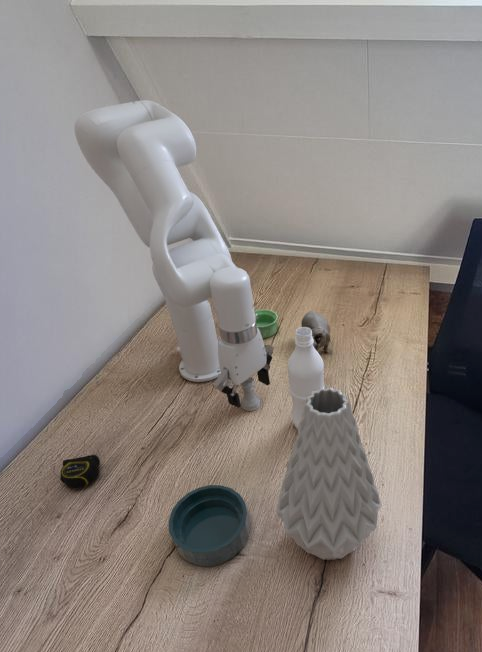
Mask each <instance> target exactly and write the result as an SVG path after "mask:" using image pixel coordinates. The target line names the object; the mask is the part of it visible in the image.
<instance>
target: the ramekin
mask: <svg viewBox="0 0 482 652" xmlns="http://www.w3.org/2000/svg"><path fill="white" fill-rule="evenodd" d="M254 311H255V314H257V315H258V319H257V320H256V325H257V328H258V329H259V331H260V333H261V336H262V339H267V338H270V337H273V336H274V335H275V334H276V333H277V331H278V319H279V317H278V316H279V315H278V314H277V313H276V311H274V310H271V309H267V308H266V309H265V308H263V309H261V308H260V309H254Z"/></svg>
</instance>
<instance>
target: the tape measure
mask: <svg viewBox="0 0 482 652" xmlns="http://www.w3.org/2000/svg"><path fill="white" fill-rule="evenodd" d="M100 463H101V460H100V458H99V456H98V455H97V454H89V455H85V456H81V457H75V458H68V459H64V460H62V467H61V469H60V477H59V478H60V480H59V481H61V483H63V484H65V486H67V487H68V488H70V489H75V490H77V489H82V488H86V487H87V486H90V485H91V484H92V483H94V482H95V481H96V479H97V478H98V476H99V473H100V469H99V466H100Z"/></svg>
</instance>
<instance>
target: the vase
mask: <svg viewBox="0 0 482 652" xmlns="http://www.w3.org/2000/svg"><path fill="white" fill-rule="evenodd" d="M381 508H382V503H381V498H380V494H379V491H378V489H377V486H376V484H375V480H374V476H373V473H372V469H371V467H370V464H369V461H368V457H367V453H366V451H365V449H364V447H363V443H362V440H361V437H360V433H359V429H358V424H357V420H356V418H355V416H354V413H353V409H352V405H351V403H350V401H349V400H348V394H346V393H342V391H341V389H334V388H333V387H332V386H329V387H327V388H324V389H323V388H320V389H319V390H318V391H312V392H311V396H309V397H307V398H306V405H305V407H304V410H303V413H302V419H301V422H300V423H299V426H298V429H297V436H296V439H295V441H294V443H293V445H292V452H291V454H290V456H289V460H288V462H287V464H286V473H285V475H284V478H283V480H282V485H281V488H280V490H279V495H278V501H277V510H276V514H277V516H278V517H279V519H280V520H281V521H282V522H283V525H284V530H285V534H286V536H288V537H289V538H291V539H293V540H294V543H296V544H297V545H298V546H299V547H300V548H302V549H303V551H305V552H306V553H307V554H309V555H310V554H311V555H313V556H315V557H316V558H319V559H321V560H323V561H324V560H327V561H336V560H337V559H340V560H342V559H343V558H344V557H346V556H347V555H349V554H351V553H353V552H354V551H356V550H357V549H358V548H359V547H360V546H361V545H362V543H363V542H365V540H367V538H368V536H369V535H370V534H372V532H374V531H375V530H377V527H378V514H379V513H378V512H379V511H380V510H381Z"/></svg>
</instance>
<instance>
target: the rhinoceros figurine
mask: <svg viewBox="0 0 482 652" xmlns="http://www.w3.org/2000/svg"><path fill="white" fill-rule="evenodd" d="M300 323H301V327H308V328H310V329H311V330H312V337H313V340H314V343H313V346H314V348H315V349H316V351H317V352H318V351H319V349H321V348H322V347H323V349H322V350H323V351H324V353H325V354H330V353H331V351H330V350H329V345H330V344H329V343H330V342H331V335H330V333H331V327H330V324H329V322H328V320H327V319H326V318H325V317H324V316H323V315H321V314H319V313H317V312H315V311H313V310H312V311H311V310H309V311H308V312H306V313H305V314H304V316H303V317H302V319H301V322H300Z"/></svg>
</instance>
